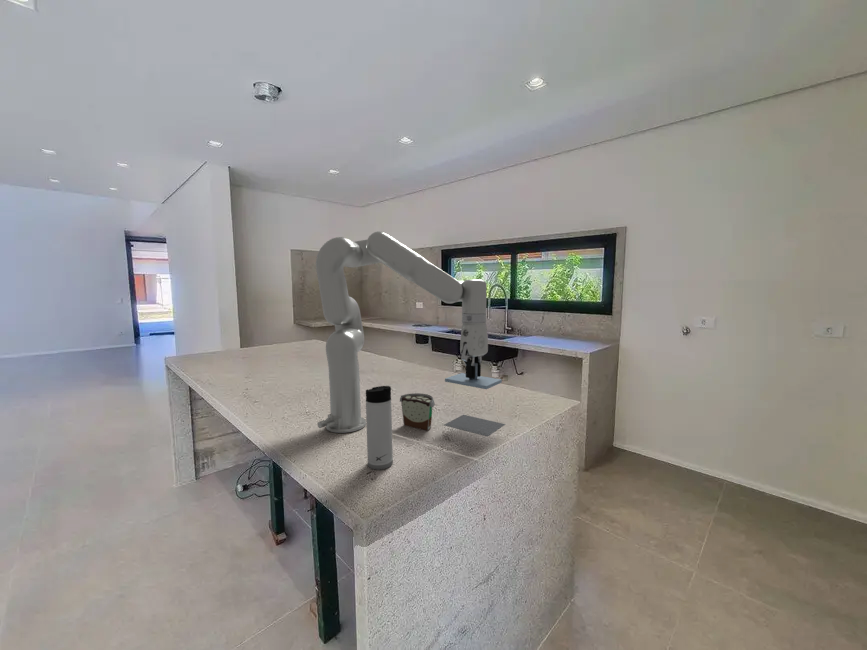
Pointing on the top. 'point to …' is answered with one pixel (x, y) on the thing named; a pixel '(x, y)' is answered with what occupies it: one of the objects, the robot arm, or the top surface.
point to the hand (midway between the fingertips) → (473, 376)
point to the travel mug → (379, 427)
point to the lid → (474, 380)
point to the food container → (417, 410)
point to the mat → (475, 425)
